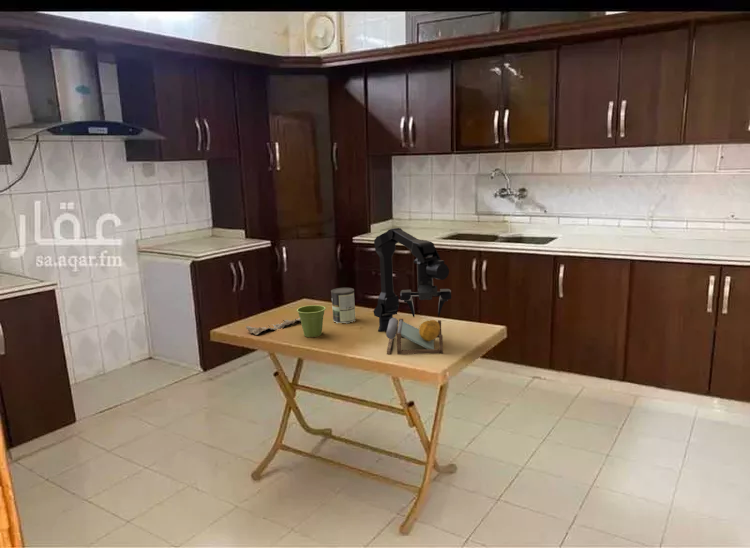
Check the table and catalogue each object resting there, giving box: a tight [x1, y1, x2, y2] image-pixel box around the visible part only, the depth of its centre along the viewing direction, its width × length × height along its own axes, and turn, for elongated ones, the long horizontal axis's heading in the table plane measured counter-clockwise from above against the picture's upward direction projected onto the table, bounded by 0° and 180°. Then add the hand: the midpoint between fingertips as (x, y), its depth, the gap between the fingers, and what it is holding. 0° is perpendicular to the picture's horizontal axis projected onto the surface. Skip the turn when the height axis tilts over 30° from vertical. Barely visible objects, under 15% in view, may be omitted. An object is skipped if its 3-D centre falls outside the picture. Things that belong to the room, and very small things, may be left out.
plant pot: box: [296, 304, 326, 338], centre depth 225 cm, size 12×12×11 cm
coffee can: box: [330, 287, 356, 324], centre depth 244 cm, size 10×10×14 cm
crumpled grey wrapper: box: [245, 317, 301, 335], centre depth 243 cm, size 34×10×3 cm, turn 139°
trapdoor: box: [385, 317, 435, 349], centre depth 207 cm, size 16×18×4 cm
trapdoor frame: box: [386, 318, 444, 355], centre depth 206 cm, size 20×20×8 cm
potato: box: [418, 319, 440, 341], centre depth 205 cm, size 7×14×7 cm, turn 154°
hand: (426, 316), depth 205 cm, fingers open, 9 cm apart
